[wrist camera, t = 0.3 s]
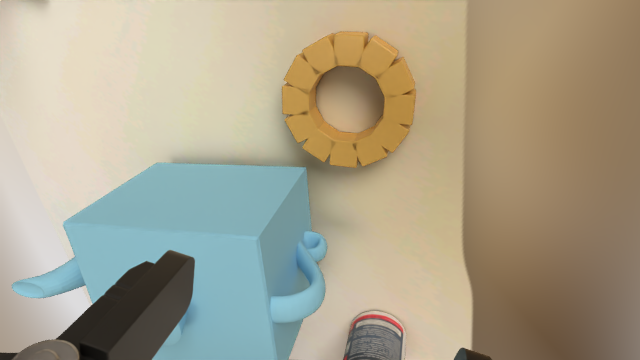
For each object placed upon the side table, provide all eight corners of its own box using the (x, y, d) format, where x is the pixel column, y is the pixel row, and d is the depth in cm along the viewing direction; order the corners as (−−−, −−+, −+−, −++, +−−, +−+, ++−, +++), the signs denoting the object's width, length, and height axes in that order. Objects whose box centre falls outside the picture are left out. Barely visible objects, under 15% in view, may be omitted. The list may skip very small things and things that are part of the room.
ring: (289, 29, 28) (280, 31, 27) (422, 34, 27) (422, 38, 25) (291, 150, 32) (283, 160, 31) (407, 163, 30) (406, 173, 29)
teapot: (345, 159, 32) (295, 265, 19) (350, 274, 36) (312, 418, 24) (109, 153, 37) (-48, 233, 25) (139, 255, 41) (20, 364, 29)
